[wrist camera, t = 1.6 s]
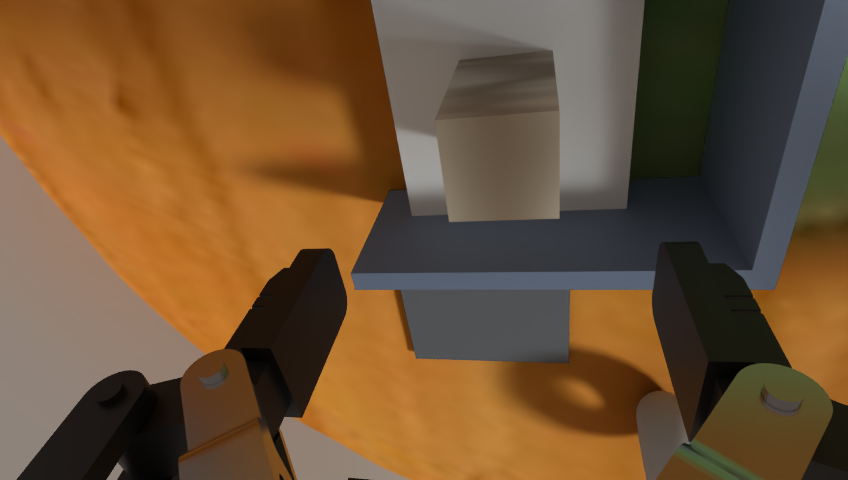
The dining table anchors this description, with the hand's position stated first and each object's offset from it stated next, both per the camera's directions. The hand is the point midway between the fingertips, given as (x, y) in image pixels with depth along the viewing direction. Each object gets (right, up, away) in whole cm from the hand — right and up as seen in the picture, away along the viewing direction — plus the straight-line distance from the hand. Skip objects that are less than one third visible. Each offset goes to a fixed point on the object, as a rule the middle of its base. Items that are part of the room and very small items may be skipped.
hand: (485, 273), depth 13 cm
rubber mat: (+2, -3, +21) cm, 22 cm away
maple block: (+2, +7, +10) cm, 13 cm away
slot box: (+4, +9, +12) cm, 16 cm away
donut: (+16, -11, +24) cm, 31 cm away
